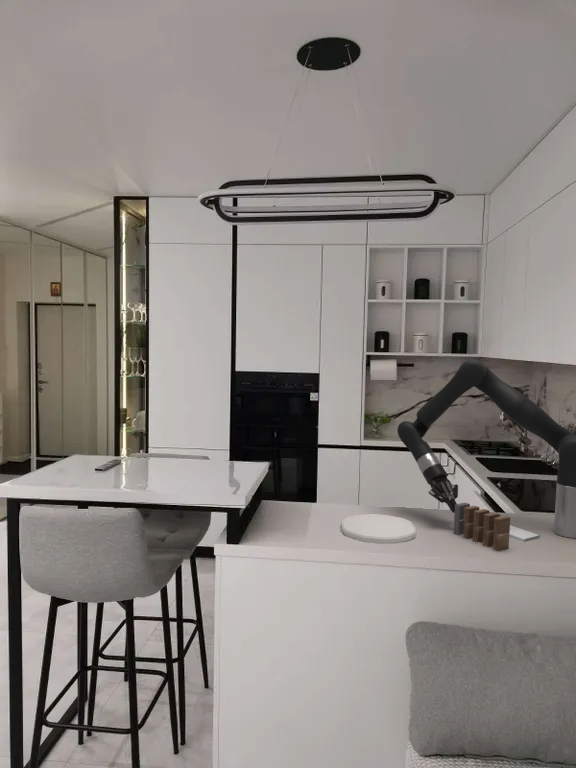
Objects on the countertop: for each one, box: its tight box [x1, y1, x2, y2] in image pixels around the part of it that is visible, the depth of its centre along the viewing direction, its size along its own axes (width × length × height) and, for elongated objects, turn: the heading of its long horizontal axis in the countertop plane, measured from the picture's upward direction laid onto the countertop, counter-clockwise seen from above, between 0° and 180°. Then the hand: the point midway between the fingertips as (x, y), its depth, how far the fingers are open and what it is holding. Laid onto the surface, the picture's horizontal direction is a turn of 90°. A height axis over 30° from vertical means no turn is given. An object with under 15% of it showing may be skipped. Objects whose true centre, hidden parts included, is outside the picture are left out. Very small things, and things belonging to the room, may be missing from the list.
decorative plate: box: [341, 513, 417, 544], centre depth 192 cm, size 25×4×25 cm
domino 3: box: [472, 508, 491, 544], centre depth 184 cm, size 2×5×10 cm, turn 121°
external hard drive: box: [509, 524, 541, 543], centre depth 192 cm, size 2×8×12 cm
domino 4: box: [482, 512, 501, 548], centre depth 181 cm, size 2×5×10 cm, turn 121°
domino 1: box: [453, 502, 471, 536], centre depth 191 cm, size 2×5×10 cm, turn 122°
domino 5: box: [492, 515, 511, 552], centre depth 177 cm, size 2×5×10 cm, turn 121°
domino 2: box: [462, 505, 480, 540], centre depth 188 cm, size 2×5×10 cm, turn 121°
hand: (456, 511), depth 193 cm, fingers closed
